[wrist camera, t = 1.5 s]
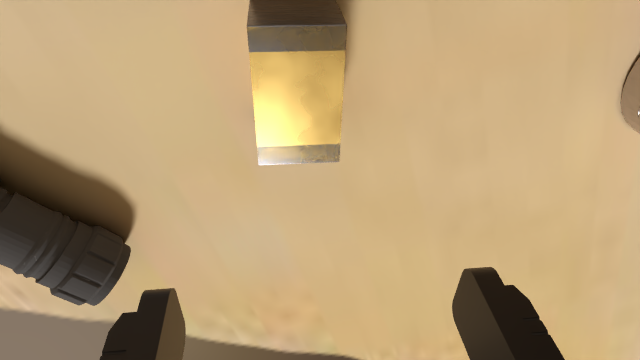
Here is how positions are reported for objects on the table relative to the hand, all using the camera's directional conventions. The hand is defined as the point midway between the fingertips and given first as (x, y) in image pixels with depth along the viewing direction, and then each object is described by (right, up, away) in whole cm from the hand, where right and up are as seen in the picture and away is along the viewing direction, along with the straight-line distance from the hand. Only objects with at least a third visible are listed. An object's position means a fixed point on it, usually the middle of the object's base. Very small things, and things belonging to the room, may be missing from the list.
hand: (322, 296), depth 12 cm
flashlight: (-21, +2, +17) cm, 27 cm away
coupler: (-2, +10, +13) cm, 17 cm away
